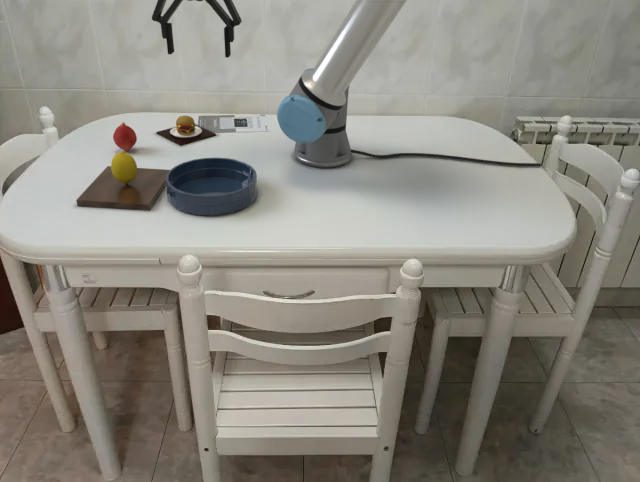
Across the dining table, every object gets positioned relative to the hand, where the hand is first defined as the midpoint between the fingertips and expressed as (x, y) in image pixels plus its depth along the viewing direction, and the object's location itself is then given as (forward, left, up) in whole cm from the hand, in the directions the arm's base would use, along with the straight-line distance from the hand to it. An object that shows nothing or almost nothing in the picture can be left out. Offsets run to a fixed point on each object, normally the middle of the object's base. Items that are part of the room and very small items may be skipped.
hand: (199, 54), depth 132 cm
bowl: (-6, +20, -27) cm, 34 cm away
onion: (+22, -2, -27) cm, 35 cm away
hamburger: (+10, -16, -27) cm, 33 cm away
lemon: (+14, +20, -25) cm, 35 cm away
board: (+14, +20, -27) cm, 36 cm away
